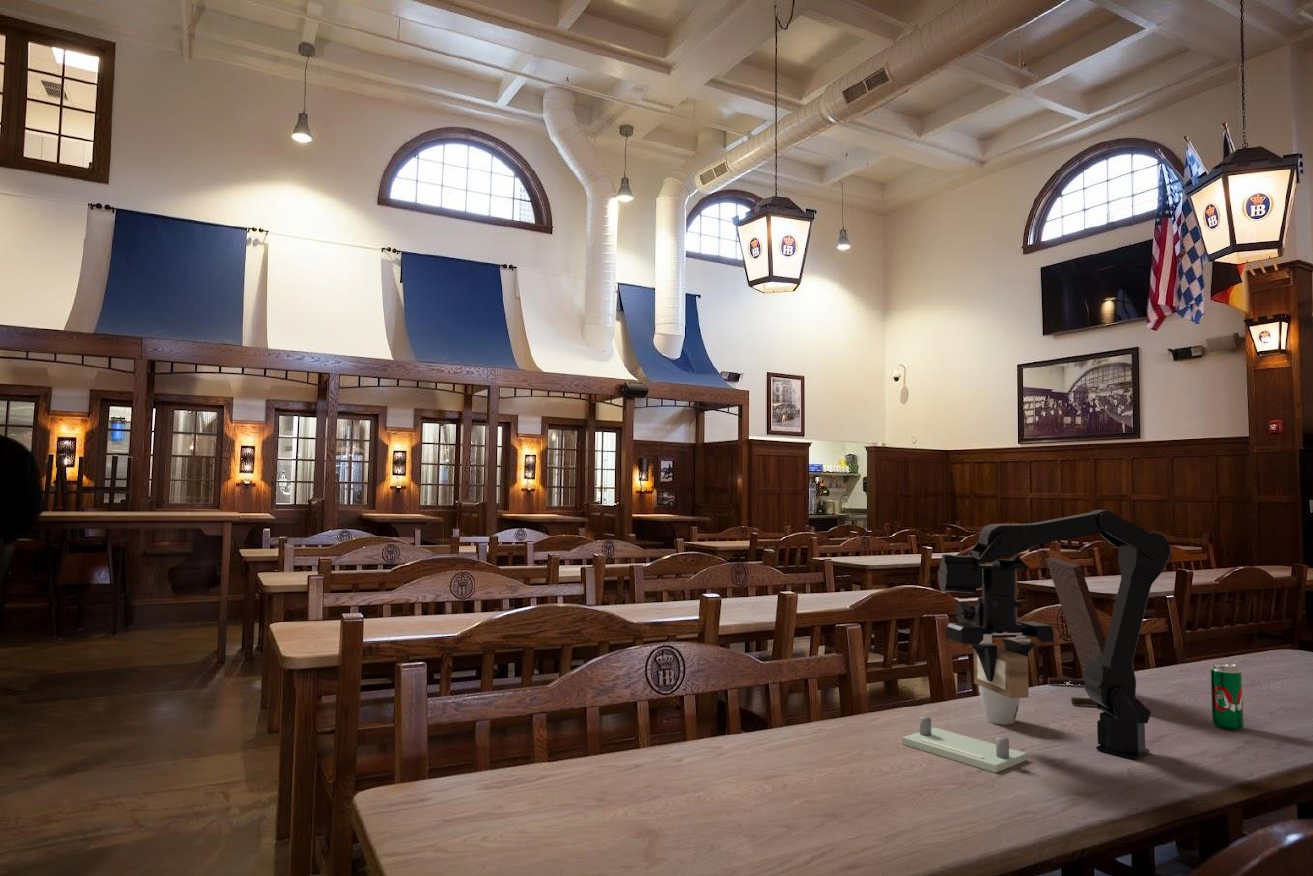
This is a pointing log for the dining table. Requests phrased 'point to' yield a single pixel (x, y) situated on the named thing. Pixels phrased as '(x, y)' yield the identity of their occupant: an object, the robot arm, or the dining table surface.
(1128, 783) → the dining table surface
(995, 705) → the cup
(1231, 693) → the soda can
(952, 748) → the ledge board
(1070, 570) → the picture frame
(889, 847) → the dining table surface
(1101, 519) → the robot arm
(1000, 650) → the brown wooden block
